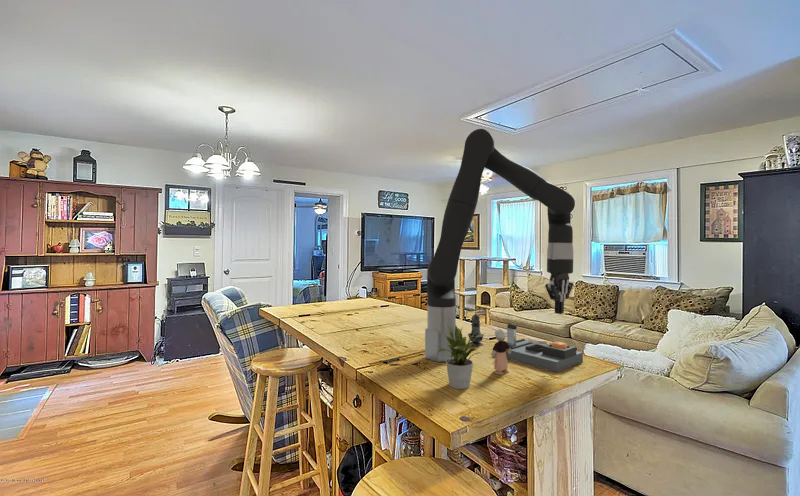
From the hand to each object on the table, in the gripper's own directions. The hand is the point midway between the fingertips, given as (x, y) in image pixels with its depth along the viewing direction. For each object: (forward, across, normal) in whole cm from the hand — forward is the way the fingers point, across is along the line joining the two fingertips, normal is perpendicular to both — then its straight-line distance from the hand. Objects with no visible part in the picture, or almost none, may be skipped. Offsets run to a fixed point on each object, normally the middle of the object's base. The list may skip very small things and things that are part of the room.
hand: (559, 313), depth 116 cm
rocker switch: (+11, 0, -7) cm, 13 cm away
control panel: (+16, 0, -7) cm, 17 cm away
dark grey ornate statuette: (+16, +2, -31) cm, 35 cm away
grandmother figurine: (+16, +21, -6) cm, 27 cm away
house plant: (+16, +38, -8) cm, 42 cm away
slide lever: (+13, +3, -15) cm, 20 cm away
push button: (+12, 0, 0) cm, 12 cm away
